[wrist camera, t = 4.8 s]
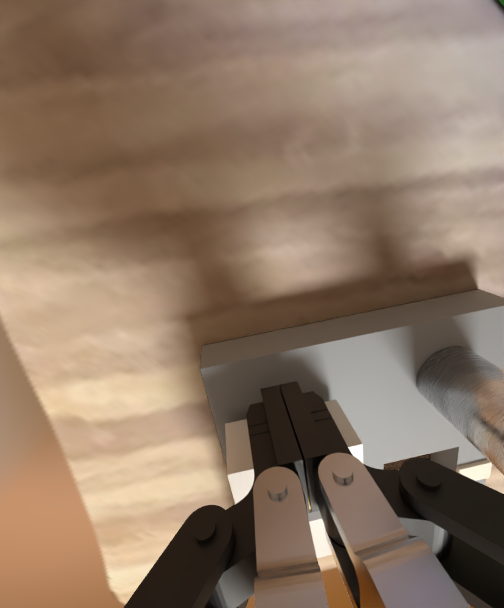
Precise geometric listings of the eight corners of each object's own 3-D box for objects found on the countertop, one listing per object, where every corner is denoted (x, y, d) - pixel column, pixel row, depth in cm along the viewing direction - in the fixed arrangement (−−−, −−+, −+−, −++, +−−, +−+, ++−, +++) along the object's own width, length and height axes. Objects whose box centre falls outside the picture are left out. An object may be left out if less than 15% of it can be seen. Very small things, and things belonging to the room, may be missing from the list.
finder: (225, 423, 13) (227, 480, 10) (336, 399, 13) (365, 448, 10) (248, 514, 15) (255, 579, 12) (343, 492, 15) (368, 551, 13)
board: (201, 345, 14) (199, 371, 12) (478, 289, 15) (521, 304, 13) (250, 532, 19) (254, 573, 17) (454, 483, 20) (482, 517, 18)
